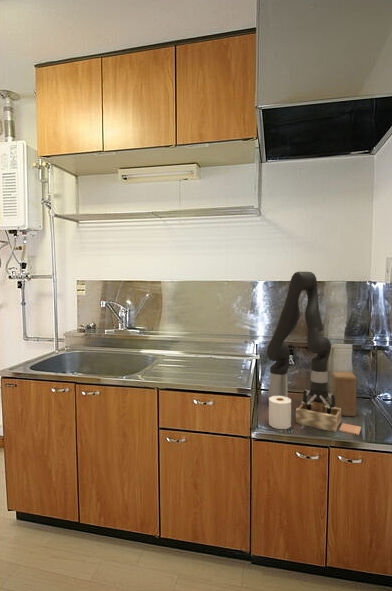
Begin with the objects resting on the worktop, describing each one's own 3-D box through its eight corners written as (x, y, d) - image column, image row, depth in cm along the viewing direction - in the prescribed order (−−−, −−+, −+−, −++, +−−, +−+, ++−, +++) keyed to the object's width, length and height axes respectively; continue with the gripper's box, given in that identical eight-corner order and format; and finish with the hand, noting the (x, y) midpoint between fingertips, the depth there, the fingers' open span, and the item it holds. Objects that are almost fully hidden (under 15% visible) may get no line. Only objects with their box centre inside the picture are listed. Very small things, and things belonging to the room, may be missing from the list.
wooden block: (356, 417, 170) (357, 377, 168) (334, 415, 172) (335, 376, 170) (351, 409, 179) (352, 371, 178) (330, 408, 181) (331, 370, 180)
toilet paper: (266, 419, 168) (267, 395, 167) (288, 420, 167) (288, 395, 166) (270, 429, 157) (270, 403, 157) (293, 429, 157) (293, 403, 156)
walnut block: (312, 418, 163) (312, 401, 162) (314, 414, 167) (314, 398, 166) (322, 420, 160) (322, 403, 160) (324, 416, 164) (324, 400, 164)
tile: (339, 430, 155) (339, 429, 155) (342, 424, 162) (342, 423, 162) (358, 435, 151) (359, 433, 151) (361, 428, 158) (361, 426, 158)
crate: (295, 423, 163) (295, 409, 163) (302, 414, 174) (302, 401, 173) (336, 432, 154) (336, 417, 153) (340, 422, 164) (341, 408, 164)
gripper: (301, 379, 163) (301, 413, 164) (333, 384, 155) (333, 419, 156) (305, 375, 169) (305, 408, 170) (336, 379, 162) (336, 413, 163)
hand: (318, 413), depth 163 cm, fingers open, 8 cm apart
